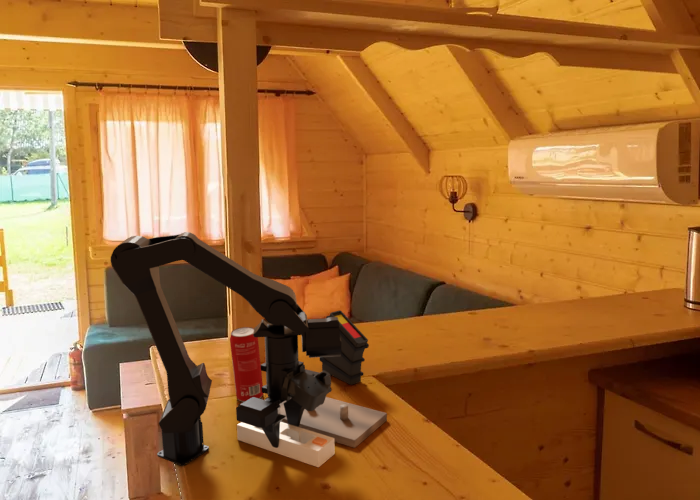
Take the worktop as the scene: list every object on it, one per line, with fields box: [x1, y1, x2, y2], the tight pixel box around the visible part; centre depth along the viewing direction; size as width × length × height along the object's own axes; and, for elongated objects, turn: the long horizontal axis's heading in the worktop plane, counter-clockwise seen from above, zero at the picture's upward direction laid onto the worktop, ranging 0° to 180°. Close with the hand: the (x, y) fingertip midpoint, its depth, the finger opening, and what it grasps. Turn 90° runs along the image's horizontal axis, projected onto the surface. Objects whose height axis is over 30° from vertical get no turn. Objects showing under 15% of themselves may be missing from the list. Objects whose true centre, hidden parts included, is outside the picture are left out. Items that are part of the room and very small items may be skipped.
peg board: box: [280, 396, 388, 449], centre depth 119 cm, size 12×20×4 cm, turn 58°
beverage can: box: [229, 326, 264, 403], centre depth 128 cm, size 6×6×15 cm
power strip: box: [236, 421, 336, 468], centre depth 109 cm, size 5×18×3 cm, turn 58°
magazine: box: [319, 310, 370, 386], centre depth 138 cm, size 4×13×15 cm, turn 40°
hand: (284, 440), depth 110 cm, fingers closed on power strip, 5 cm apart
